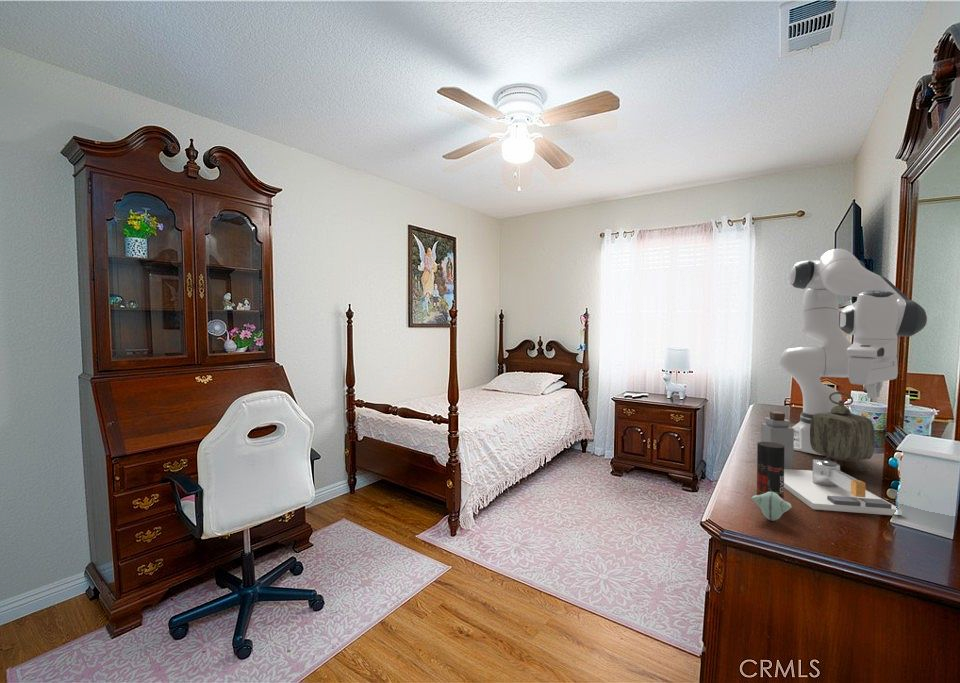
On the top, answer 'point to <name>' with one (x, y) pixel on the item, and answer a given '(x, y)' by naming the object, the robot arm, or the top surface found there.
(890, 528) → the top surface
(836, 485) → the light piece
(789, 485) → the stand
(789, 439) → the perfume bottle
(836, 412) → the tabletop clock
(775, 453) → the deodorant
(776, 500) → the mint green pointed piece
